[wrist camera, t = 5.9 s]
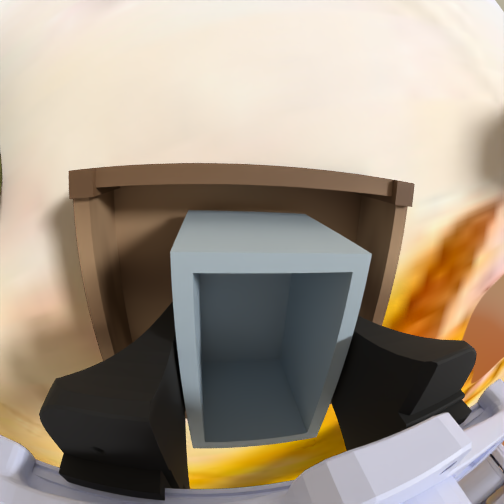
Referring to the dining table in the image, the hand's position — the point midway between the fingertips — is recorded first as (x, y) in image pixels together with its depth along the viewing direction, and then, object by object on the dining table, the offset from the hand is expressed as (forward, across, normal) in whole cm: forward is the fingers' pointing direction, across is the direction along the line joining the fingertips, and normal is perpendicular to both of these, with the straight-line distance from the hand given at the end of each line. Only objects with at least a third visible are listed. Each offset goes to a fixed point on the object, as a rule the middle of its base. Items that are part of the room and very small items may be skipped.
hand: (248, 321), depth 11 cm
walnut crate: (+3, 0, 0) cm, 3 cm away
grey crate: (+2, 0, 0) cm, 2 cm away
